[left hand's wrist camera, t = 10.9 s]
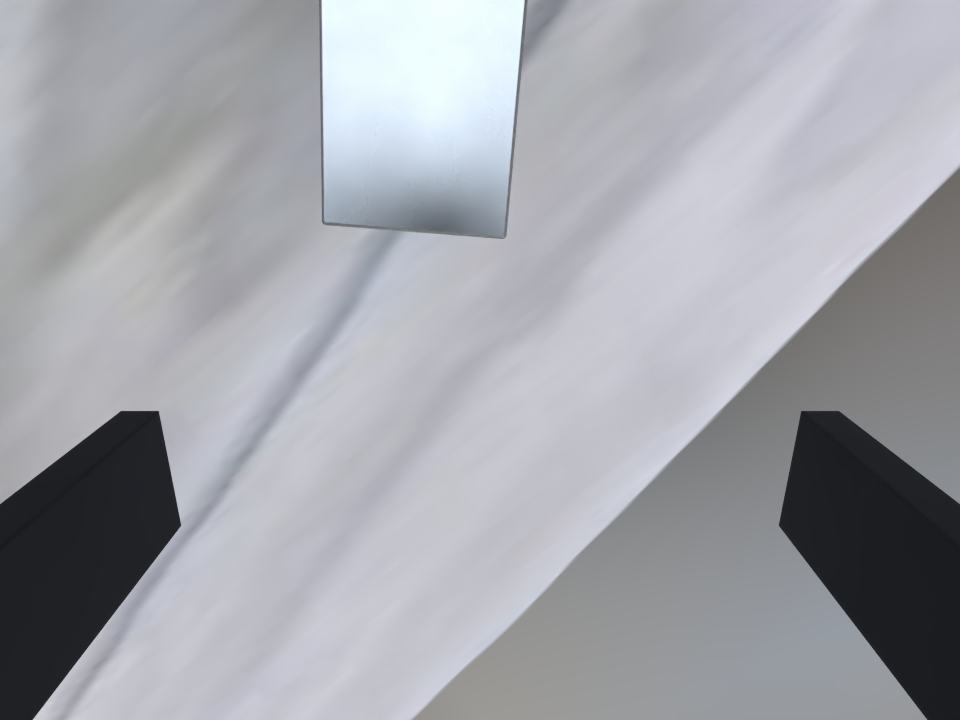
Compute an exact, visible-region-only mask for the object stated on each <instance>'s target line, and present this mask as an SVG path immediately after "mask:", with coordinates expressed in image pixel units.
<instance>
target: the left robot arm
mask: <svg viewBox="0 0 960 720" xmlns="http://www.w3.org/2000/svg"><path fill="white" fill-rule="evenodd" d="M180 526H181V522H180V517H179V512H178V507H177V502H176V497H175V492H174V487H173V482H172V477H171V472H170V467H169V462H168V456H167V451H166V446H165V441H164V436H163V431H162V426H161V421H160V416H159V411H121V412H119V413H118V414H117V415H115V416H114V417H113V418H112V419H110V420H109V421H108V422H106V423H105V424H104V425H102V426H101V427H100V428H99V429H97V430H96V431H95V432H93V433H92V434H91V435H90V436H88V437H87V438H86V439H84V440H83V441H82V442H80V443H79V444H78V445H77V446H75V447H74V448H73V449H71V450H70V451H69V452H67V453H66V454H65V455H64V456H62V457H61V458H60V459H58V460H57V461H56V462H54V463H53V464H52V465H51V466H49V467H48V468H47V469H45V470H44V471H43V472H41V473H40V474H39V475H38V476H36V477H35V478H34V479H32V480H31V481H30V482H28V483H27V484H26V485H25V486H23V487H22V488H21V489H19V490H18V491H17V492H15V493H14V494H13V495H12V496H10V497H9V498H8V499H6V500H5V501H4V502H2V503H1V504H0V720H33V718H34V717H35V716H36V715H37V713H38V712H39V711H40V709H41V708H42V707H43V705H44V704H45V703H46V701H47V700H48V699H49V698H50V696H51V695H52V694H53V692H54V691H55V690H56V688H57V687H58V686H59V684H60V683H61V682H62V681H63V679H64V678H65V677H66V675H67V674H68V673H69V671H70V670H71V669H72V667H73V666H74V665H75V664H76V662H77V661H78V660H79V658H80V657H81V656H82V654H83V653H84V652H85V650H86V649H87V648H88V647H89V645H90V644H91V643H92V641H93V640H94V639H95V637H96V636H97V635H98V634H99V632H100V631H101V630H102V628H103V627H104V626H105V624H106V623H107V622H108V620H109V619H110V618H111V617H112V615H113V614H114V613H115V611H116V610H117V609H118V607H119V606H120V605H121V603H122V602H123V601H124V600H125V598H126V597H127V596H128V594H129V593H130V592H131V590H132V589H133V588H134V586H135V585H136V584H137V583H138V581H139V580H140V579H141V577H142V576H143V575H144V573H145V572H146V571H147V569H148V568H149V567H150V566H151V564H152V563H153V562H154V560H155V559H156V558H157V556H158V555H159V554H160V552H161V551H162V550H163V549H164V547H165V546H166V545H167V543H168V542H169V541H170V539H171V538H172V537H173V535H174V534H175V533H176V532H177V530H178V529H179V528H180ZM779 526H780V528H781V529H782V530H783V532H784V533H785V534H786V535H787V537H788V538H789V539H790V541H791V542H792V543H793V545H794V546H795V547H796V549H797V550H798V551H799V552H800V554H801V555H802V556H803V558H804V559H805V560H806V562H807V563H808V564H809V566H810V567H811V568H812V569H813V571H814V572H815V573H816V575H817V576H818V577H819V579H820V580H821V581H822V582H823V584H824V585H825V586H826V588H827V589H828V590H829V592H830V593H831V594H832V596H833V597H834V598H835V599H836V601H837V602H838V603H839V605H840V606H841V607H842V609H843V610H844V611H845V613H846V614H847V615H848V617H849V618H850V619H851V620H852V622H853V623H854V624H855V626H856V627H857V628H858V630H859V631H860V632H861V633H862V635H863V636H864V637H865V639H866V640H867V641H868V643H869V644H870V645H871V646H872V648H873V649H874V650H875V652H876V653H877V654H878V656H879V657H880V658H881V660H882V661H883V662H884V664H885V665H886V666H887V667H888V669H889V670H890V671H891V673H892V674H893V675H894V677H895V678H896V679H897V681H898V682H899V683H900V684H901V686H902V687H903V688H904V690H905V691H906V692H907V694H908V695H909V696H910V698H911V699H912V700H913V701H914V703H915V704H916V705H917V707H918V708H919V709H920V711H921V712H922V713H923V715H924V716H925V717H926V718H927V720H960V504H959V503H957V502H956V501H955V500H954V499H952V498H951V497H950V496H948V495H947V494H946V493H944V492H943V491H942V490H941V489H939V488H938V487H937V486H935V485H934V484H933V483H932V482H930V481H929V480H928V479H926V478H925V477H924V476H922V475H921V474H920V473H919V472H917V471H916V470H915V469H913V468H912V467H911V466H909V465H908V464H907V463H906V462H904V461H903V460H902V459H900V458H899V457H898V456H896V455H895V454H894V453H893V452H891V451H890V450H889V449H887V448H886V447H885V446H883V445H882V444H881V443H880V442H878V441H877V440H876V439H874V438H873V437H872V436H870V435H869V434H868V433H867V432H865V431H864V430H863V429H861V428H860V427H859V426H857V425H856V424H855V423H854V422H852V421H851V420H850V419H848V418H847V417H846V416H844V415H843V414H842V413H841V412H839V411H801V416H800V421H799V426H798V431H797V436H796V441H795V446H794V451H793V457H792V461H791V467H790V472H789V477H788V482H787V487H786V492H785V497H784V502H783V507H782V512H781V518H780V523H779Z"/></svg>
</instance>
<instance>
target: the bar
mask: <svg viewBox="0 0 960 720" xmlns="http://www.w3.org/2000/svg"><path fill="white" fill-rule="evenodd" d="M527 2H528V0H319V17H320V94H321V172H322V222H323V224H324V225H331V226H344V227H357V228H369V229H382V230H395V231H408V232H421V233H434V234H447V235H459V236H472V237H485V238H498V239H504V238H505V237H506V234H507V223H508V212H509V201H510V189H511V178H512V167H513V156H514V145H515V134H516V123H517V112H518V101H519V90H520V79H521V68H522V57H523V46H524V35H525V24H526V13H527Z"/></svg>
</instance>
